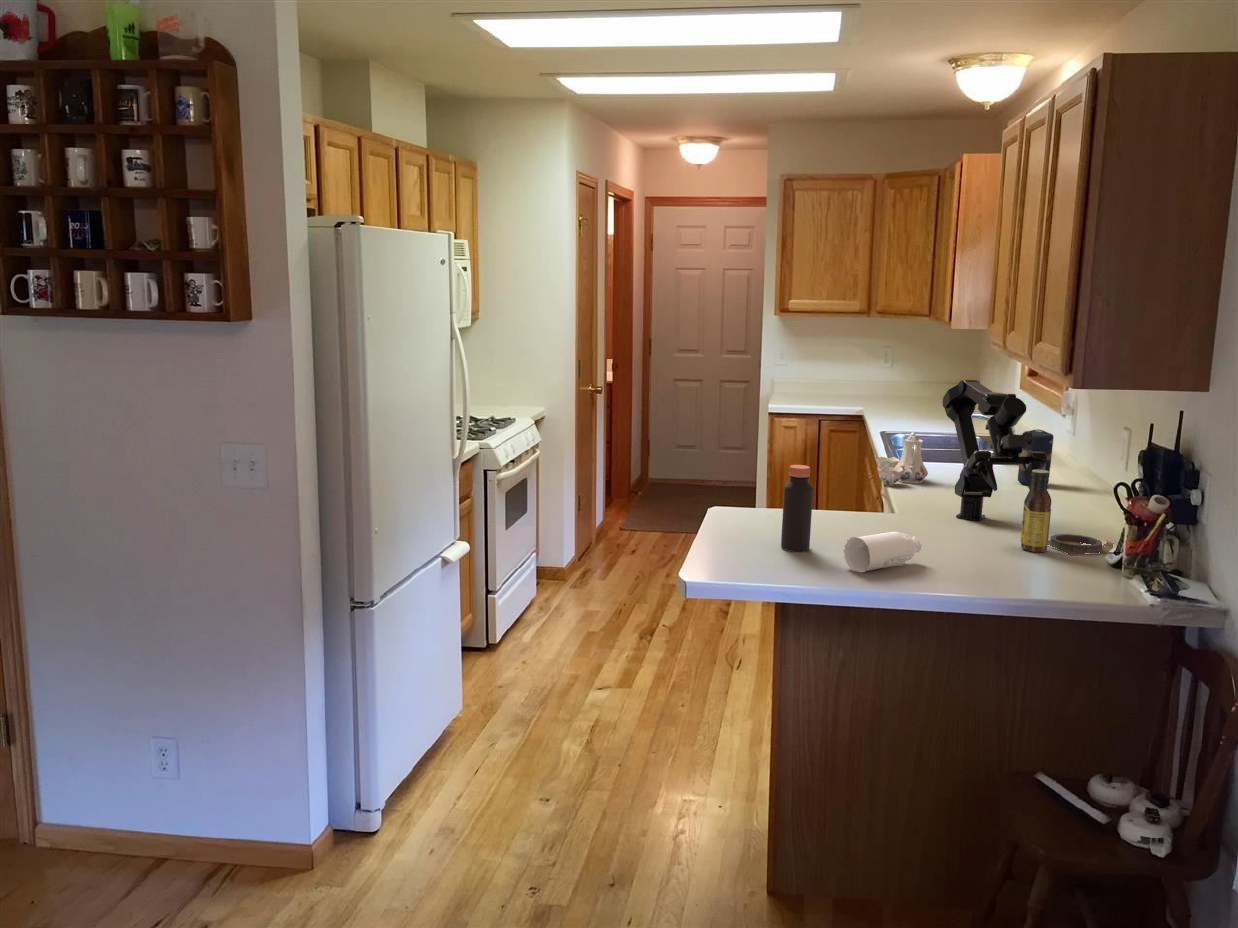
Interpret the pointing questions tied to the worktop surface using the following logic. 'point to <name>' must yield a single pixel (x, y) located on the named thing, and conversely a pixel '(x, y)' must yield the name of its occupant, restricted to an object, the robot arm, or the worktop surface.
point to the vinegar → (797, 510)
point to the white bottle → (880, 550)
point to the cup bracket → (1078, 544)
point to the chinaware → (904, 464)
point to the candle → (1041, 444)
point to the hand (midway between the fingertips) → (1013, 490)
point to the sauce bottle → (1036, 513)
